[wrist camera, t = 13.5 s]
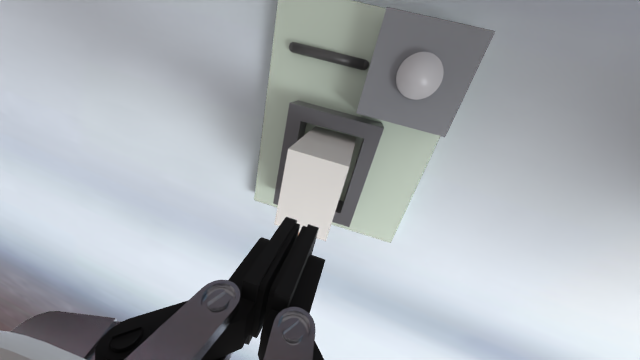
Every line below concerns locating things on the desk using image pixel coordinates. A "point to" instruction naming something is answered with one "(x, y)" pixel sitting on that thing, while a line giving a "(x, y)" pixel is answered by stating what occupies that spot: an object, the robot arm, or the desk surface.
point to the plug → (315, 179)
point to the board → (343, 96)
